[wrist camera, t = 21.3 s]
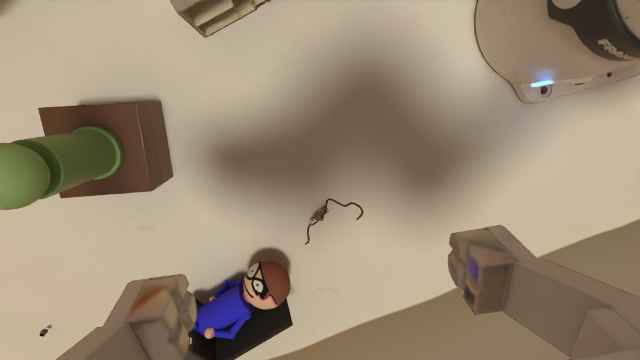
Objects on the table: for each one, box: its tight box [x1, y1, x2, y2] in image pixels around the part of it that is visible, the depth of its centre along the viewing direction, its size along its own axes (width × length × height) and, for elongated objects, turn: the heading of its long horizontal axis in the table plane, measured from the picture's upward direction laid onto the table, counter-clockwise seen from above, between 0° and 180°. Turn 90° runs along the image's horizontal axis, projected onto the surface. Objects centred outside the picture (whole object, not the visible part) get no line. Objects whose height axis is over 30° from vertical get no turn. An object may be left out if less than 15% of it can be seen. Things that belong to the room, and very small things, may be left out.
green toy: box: [0, 126, 124, 210], centre depth 24 cm, size 5×5×12 cm
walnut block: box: [38, 102, 173, 198], centre depth 32 cm, size 8×8×6 cm
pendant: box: [305, 199, 363, 245], centre depth 38 cm, size 8×4×3 cm, turn 125°
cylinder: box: [40, 329, 48, 336], centre depth 38 cm, size 1×1×1 cm
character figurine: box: [185, 260, 293, 360], centre depth 37 cm, size 8×7×15 cm
